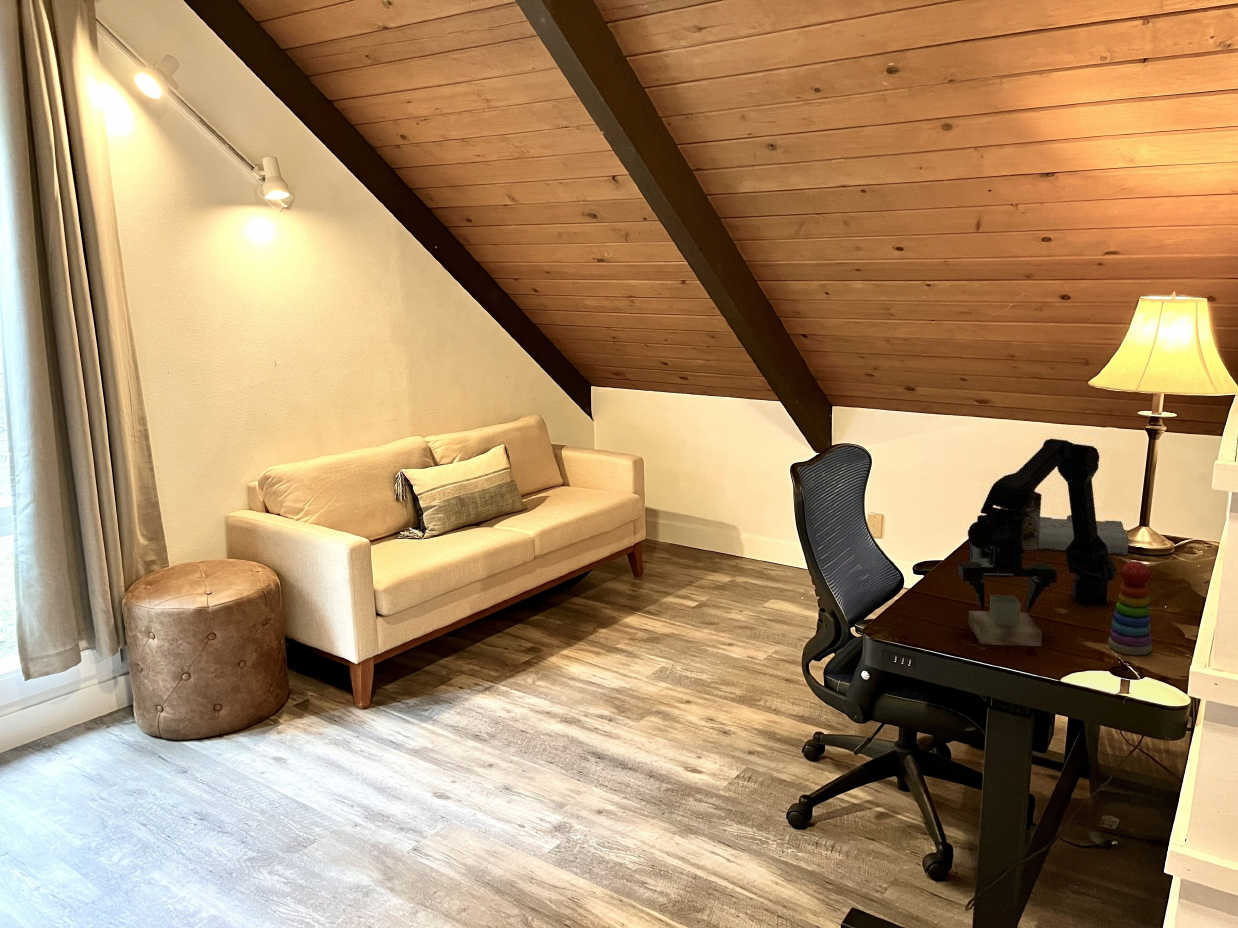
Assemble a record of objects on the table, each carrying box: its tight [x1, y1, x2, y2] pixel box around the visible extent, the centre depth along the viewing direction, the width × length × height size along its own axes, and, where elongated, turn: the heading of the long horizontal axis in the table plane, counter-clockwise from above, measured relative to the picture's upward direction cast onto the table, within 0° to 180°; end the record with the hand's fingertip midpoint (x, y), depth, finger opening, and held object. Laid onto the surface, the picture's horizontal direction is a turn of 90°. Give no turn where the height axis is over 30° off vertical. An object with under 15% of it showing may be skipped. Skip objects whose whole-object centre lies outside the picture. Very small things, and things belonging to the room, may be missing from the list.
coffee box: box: [999, 491, 1042, 551], centre depth 259 cm, size 9×6×16 cm
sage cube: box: [989, 594, 1022, 626], centre depth 195 cm, size 5×5×5 cm
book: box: [1038, 514, 1131, 556], centre depth 259 cm, size 19×28×8 cm
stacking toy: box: [1107, 560, 1153, 656], centre depth 185 cm, size 8×8×19 cm
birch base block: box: [968, 610, 1043, 647], centre depth 196 cm, size 12×12×3 cm
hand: (1004, 610), depth 195 cm, fingers open, 9 cm apart
